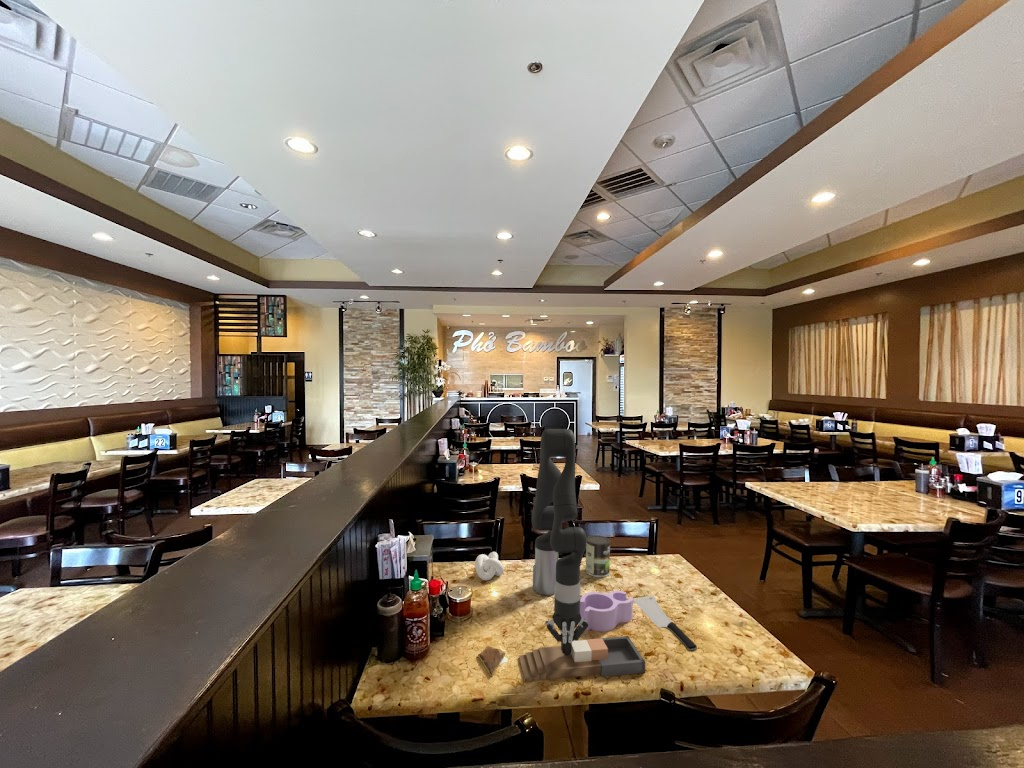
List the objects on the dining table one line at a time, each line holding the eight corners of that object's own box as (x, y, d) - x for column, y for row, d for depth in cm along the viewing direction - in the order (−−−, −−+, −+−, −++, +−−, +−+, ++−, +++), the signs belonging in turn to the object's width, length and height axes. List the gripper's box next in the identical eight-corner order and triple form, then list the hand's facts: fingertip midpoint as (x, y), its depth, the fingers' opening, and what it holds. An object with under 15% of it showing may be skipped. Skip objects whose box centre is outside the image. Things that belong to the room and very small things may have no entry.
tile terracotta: (591, 660, 124) (591, 650, 124) (586, 649, 129) (586, 639, 129) (607, 659, 125) (608, 649, 125) (602, 648, 130) (602, 638, 130)
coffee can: (613, 570, 187) (613, 538, 186) (604, 579, 178) (605, 546, 178) (591, 564, 192) (591, 533, 192) (581, 573, 184) (582, 540, 183)
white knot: (474, 569, 186) (474, 549, 186) (502, 568, 187) (502, 548, 187) (475, 582, 175) (475, 560, 175) (504, 581, 176) (504, 559, 176)
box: (601, 676, 121) (601, 665, 121) (588, 649, 133) (588, 639, 133) (645, 672, 123) (645, 661, 123) (627, 646, 135) (628, 636, 135)
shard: (491, 680, 120) (491, 673, 120) (467, 672, 123) (467, 666, 123) (506, 656, 130) (506, 650, 130) (484, 650, 133) (484, 644, 133)
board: (545, 679, 120) (546, 670, 120) (538, 656, 130) (538, 647, 130) (600, 674, 122) (600, 665, 122) (589, 651, 132) (589, 643, 132)
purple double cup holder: (618, 605, 159) (618, 586, 159) (639, 623, 147) (640, 603, 147) (570, 615, 152) (571, 596, 152) (589, 635, 140) (589, 615, 140)
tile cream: (574, 662, 123) (574, 652, 123) (570, 651, 128) (570, 641, 128) (591, 660, 124) (591, 650, 124) (586, 649, 129) (586, 640, 129)
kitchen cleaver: (627, 598, 163) (652, 593, 164) (628, 602, 163) (652, 597, 165) (672, 651, 132) (701, 644, 134) (672, 656, 132) (702, 649, 134)
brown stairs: (524, 681, 119) (524, 674, 119) (519, 657, 129) (519, 650, 129) (545, 679, 120) (546, 672, 120) (538, 655, 130) (538, 649, 130)
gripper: (547, 603, 121) (546, 663, 121) (593, 600, 123) (592, 660, 123) (542, 590, 128) (541, 647, 129) (585, 587, 130) (584, 644, 130)
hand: (566, 653), depth 126 cm, fingers closed
